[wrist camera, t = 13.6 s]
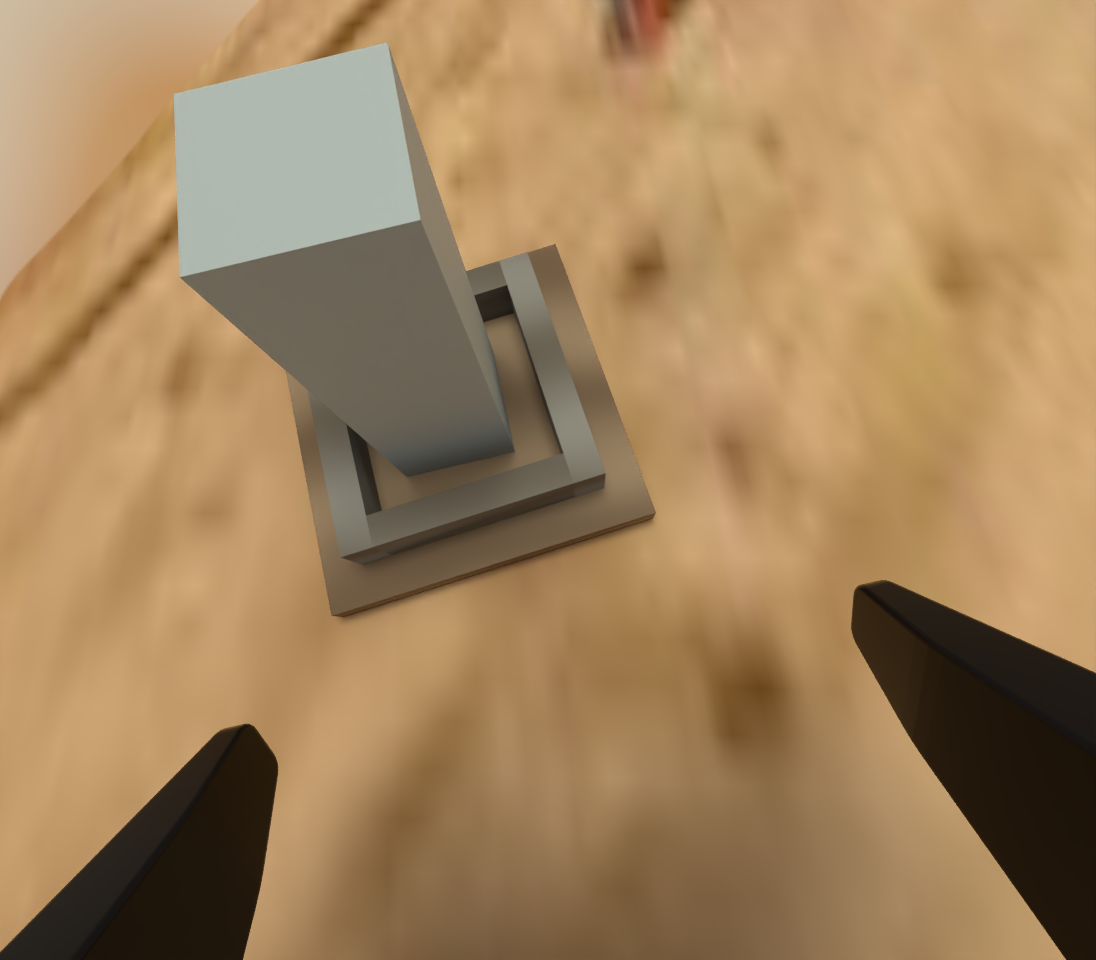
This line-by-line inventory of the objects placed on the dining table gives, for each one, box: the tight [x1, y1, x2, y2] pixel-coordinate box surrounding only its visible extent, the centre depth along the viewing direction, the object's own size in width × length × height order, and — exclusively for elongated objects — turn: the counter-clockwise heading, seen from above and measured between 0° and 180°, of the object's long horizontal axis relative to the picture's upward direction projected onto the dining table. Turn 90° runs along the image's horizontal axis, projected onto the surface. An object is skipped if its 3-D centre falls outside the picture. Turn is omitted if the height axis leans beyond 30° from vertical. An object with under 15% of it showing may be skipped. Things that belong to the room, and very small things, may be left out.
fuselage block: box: [174, 42, 515, 477], centre depth 17 cm, size 4×4×13 cm
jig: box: [286, 244, 656, 617], centre depth 23 cm, size 13×13×3 cm
